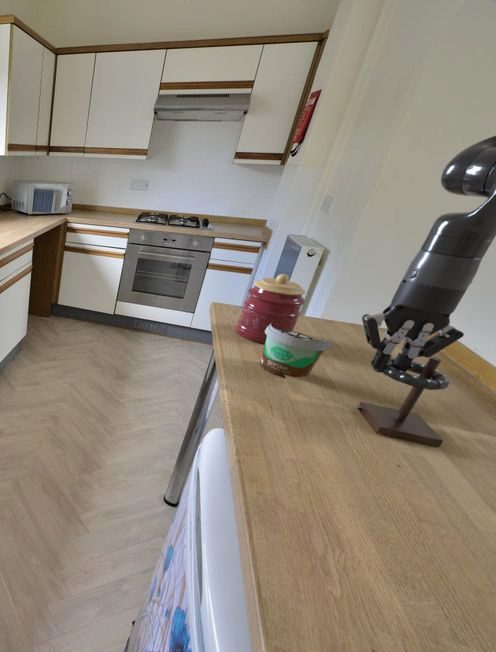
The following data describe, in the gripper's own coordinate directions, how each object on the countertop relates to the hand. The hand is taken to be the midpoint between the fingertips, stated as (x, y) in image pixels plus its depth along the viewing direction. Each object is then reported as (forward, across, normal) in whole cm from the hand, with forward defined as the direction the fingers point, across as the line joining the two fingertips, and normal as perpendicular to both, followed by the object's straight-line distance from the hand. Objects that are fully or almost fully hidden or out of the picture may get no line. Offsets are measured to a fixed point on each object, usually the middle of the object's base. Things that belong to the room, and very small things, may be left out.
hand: (385, 371), depth 74 cm
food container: (+11, +10, -14) cm, 20 cm away
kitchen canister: (+11, +10, -37) cm, 40 cm away
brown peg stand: (+10, -6, 0) cm, 12 cm away
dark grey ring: (-1, -4, 0) cm, 4 cm away
